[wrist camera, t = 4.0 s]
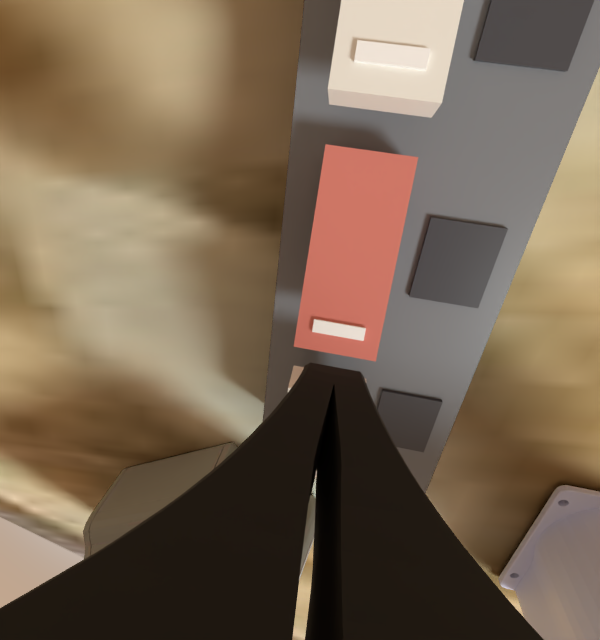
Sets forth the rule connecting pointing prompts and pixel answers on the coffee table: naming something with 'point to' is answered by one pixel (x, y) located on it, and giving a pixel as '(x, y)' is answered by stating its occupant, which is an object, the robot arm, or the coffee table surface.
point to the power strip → (440, 201)
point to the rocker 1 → (393, 54)
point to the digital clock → (160, 496)
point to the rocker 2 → (353, 250)
